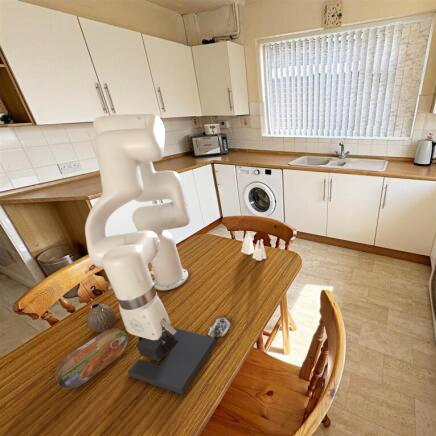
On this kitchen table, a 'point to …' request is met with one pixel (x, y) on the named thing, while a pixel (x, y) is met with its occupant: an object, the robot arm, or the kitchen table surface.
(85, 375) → the tin
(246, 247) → the shaker set
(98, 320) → the vase
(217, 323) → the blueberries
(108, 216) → the robot arm
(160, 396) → the kitchen table surface
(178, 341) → the charcoal pad
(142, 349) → the dark grey squat block
